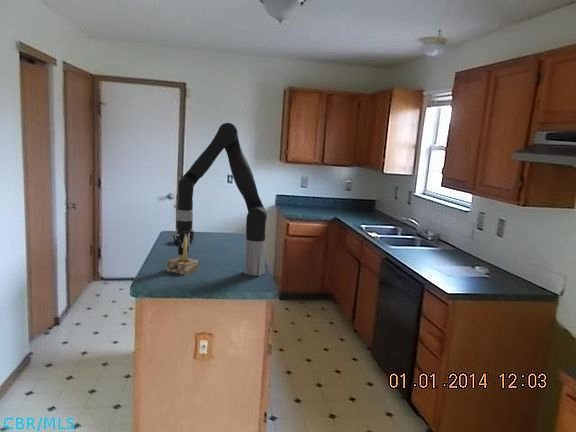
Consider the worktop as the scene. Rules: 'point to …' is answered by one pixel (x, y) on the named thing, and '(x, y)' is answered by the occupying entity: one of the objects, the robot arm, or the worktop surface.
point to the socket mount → (182, 266)
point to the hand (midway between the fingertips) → (183, 253)
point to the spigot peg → (184, 251)
